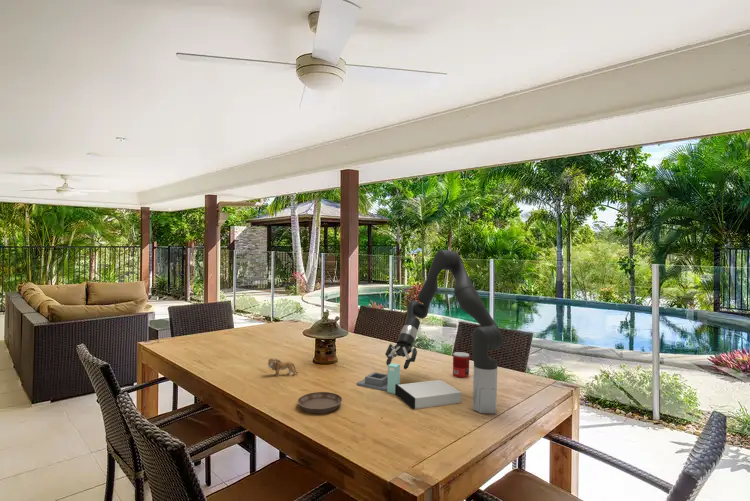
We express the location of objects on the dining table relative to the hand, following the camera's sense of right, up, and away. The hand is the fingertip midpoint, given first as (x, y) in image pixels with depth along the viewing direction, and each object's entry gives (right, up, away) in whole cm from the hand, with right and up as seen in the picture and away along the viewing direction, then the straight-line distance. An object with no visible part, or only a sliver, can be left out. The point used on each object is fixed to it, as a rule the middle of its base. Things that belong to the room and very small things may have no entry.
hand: (396, 366), depth 191 cm
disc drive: (+13, -11, -11) cm, 20 cm away
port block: (-8, -10, +6) cm, 14 cm away
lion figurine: (-55, -9, +16) cm, 58 cm away
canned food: (+34, -11, +22) cm, 41 cm away
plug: (-1, -10, -3) cm, 11 cm away
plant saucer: (-32, -10, -22) cm, 40 cm away
